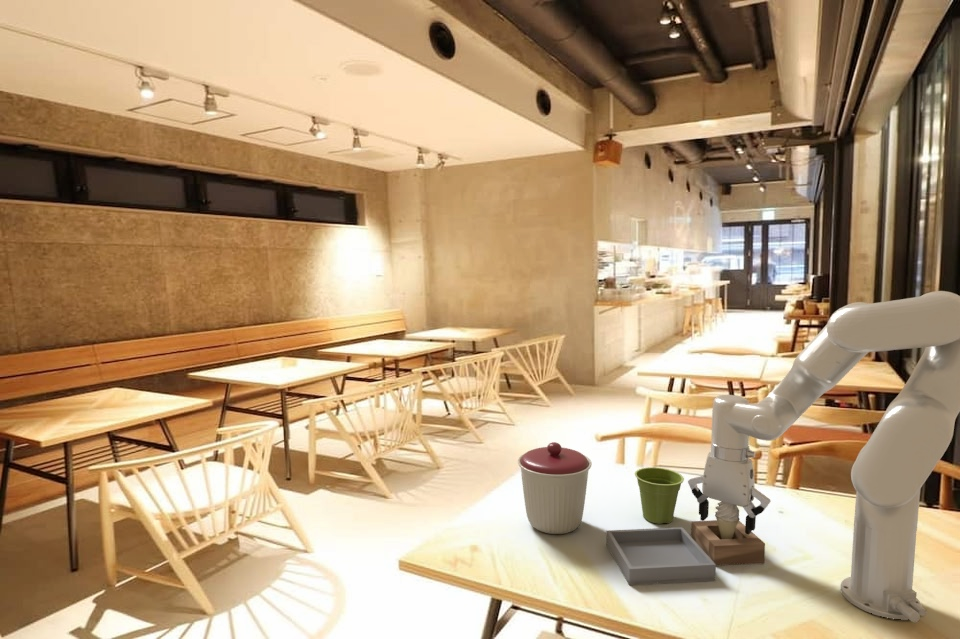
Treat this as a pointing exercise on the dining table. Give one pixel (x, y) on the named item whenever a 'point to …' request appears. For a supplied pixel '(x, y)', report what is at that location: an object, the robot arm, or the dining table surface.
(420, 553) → the dining table surface
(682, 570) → the grey tray
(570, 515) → the canister
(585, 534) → the dining table surface
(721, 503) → the ice cream cone
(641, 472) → the plant pot
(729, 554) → the cone stand
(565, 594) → the dining table surface
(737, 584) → the dining table surface
